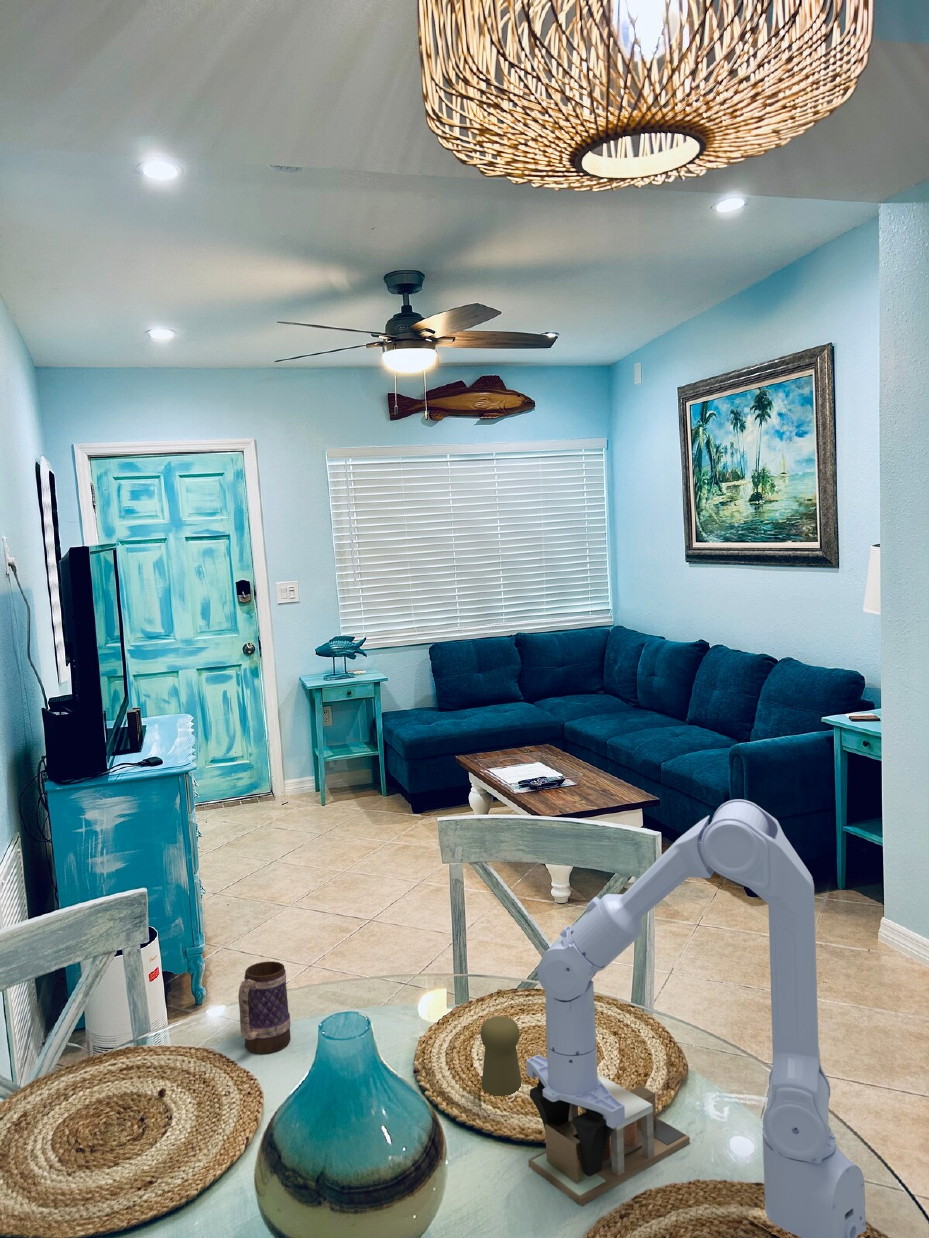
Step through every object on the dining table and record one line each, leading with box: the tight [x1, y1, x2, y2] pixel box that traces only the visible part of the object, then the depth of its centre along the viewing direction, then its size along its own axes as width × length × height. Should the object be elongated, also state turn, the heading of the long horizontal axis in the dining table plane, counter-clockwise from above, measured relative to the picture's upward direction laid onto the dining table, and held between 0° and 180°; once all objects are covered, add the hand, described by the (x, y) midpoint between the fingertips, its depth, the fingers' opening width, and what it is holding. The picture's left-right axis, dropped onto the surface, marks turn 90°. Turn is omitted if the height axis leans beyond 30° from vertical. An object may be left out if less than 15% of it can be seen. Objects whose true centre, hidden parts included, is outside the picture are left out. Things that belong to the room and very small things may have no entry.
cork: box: [479, 1015, 523, 1097], centre depth 118 cm, size 6×6×11 cm
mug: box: [237, 960, 292, 1055], centre depth 135 cm, size 10×7×12 cm
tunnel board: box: [528, 1075, 691, 1207], centre depth 106 cm, size 9×18×7 cm, turn 126°
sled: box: [544, 1085, 657, 1183], centre depth 106 cm, size 5×15×5 cm, turn 126°
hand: (575, 1159), depth 103 cm, fingers closed on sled, 5 cm apart
